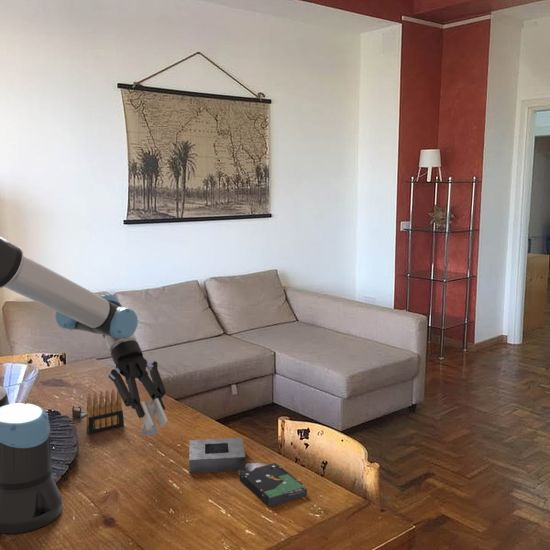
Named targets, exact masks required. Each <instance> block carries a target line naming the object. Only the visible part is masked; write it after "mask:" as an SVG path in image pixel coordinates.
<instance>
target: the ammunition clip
mask: <svg viewBox="0 0 550 550" xmlns="http://www.w3.org/2000/svg"><path fill="white" fill-rule="evenodd" d="M86 400H87V401H86V403H87V404H86V412H87V416H86V434H87V435H93V434H98V433H102V432H106V431H110V430H115V429H119V428H123V427H125V420H124V411H123V400H122V398H121V396H120V394H119V392H118V390H117V389H116V393H115V390H114V388H112V389H111V393H110V392H109V390H108V389H106V391H105V395H104V393H103V391H102V390H100V392H99V399H98V395H97V393H96V391H95V392H94V393H93V399H92V395H91V394H90V393H88V394H87V398H86ZM98 400H99V401H98Z"/></svg>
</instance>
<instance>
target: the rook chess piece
mask: <svg viewBox="0 0 550 550" xmlns="http://www.w3.org/2000/svg"><path fill="white" fill-rule="evenodd" d="M144 403H145V405H146V407H147V410H148V412H149V414H150V417H151V419H152V421H153V424H154V425H153V426H152V428H151V429H150V430H147V429H146V426H145V424H144V422H143V423H142V425H141V427H140V430H141V431H140V434H141V435H142V436H144V437H152V436H156V435H157V434H158V433H159V425H158V424H157V422H156V418H155V417H156V416H155V414H156V413H155V411H154V408H155V407H156V405H155V404H154V402H153V400H148V401H144Z"/></svg>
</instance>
